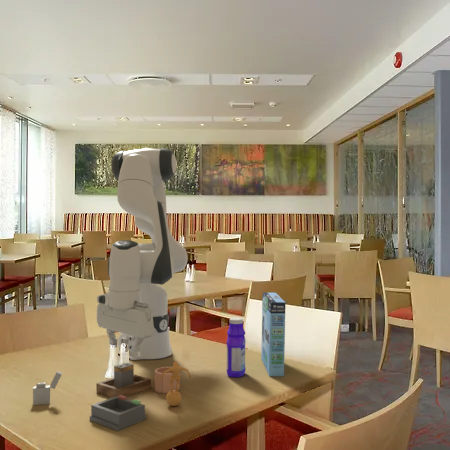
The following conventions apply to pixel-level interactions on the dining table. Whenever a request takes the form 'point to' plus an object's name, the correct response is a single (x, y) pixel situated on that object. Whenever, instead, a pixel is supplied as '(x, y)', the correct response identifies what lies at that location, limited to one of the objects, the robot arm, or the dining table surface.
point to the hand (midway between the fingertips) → (124, 348)
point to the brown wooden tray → (111, 391)
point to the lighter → (44, 390)
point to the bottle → (236, 348)
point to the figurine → (173, 395)
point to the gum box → (273, 334)
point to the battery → (123, 375)
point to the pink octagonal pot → (164, 381)
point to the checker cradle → (118, 412)
